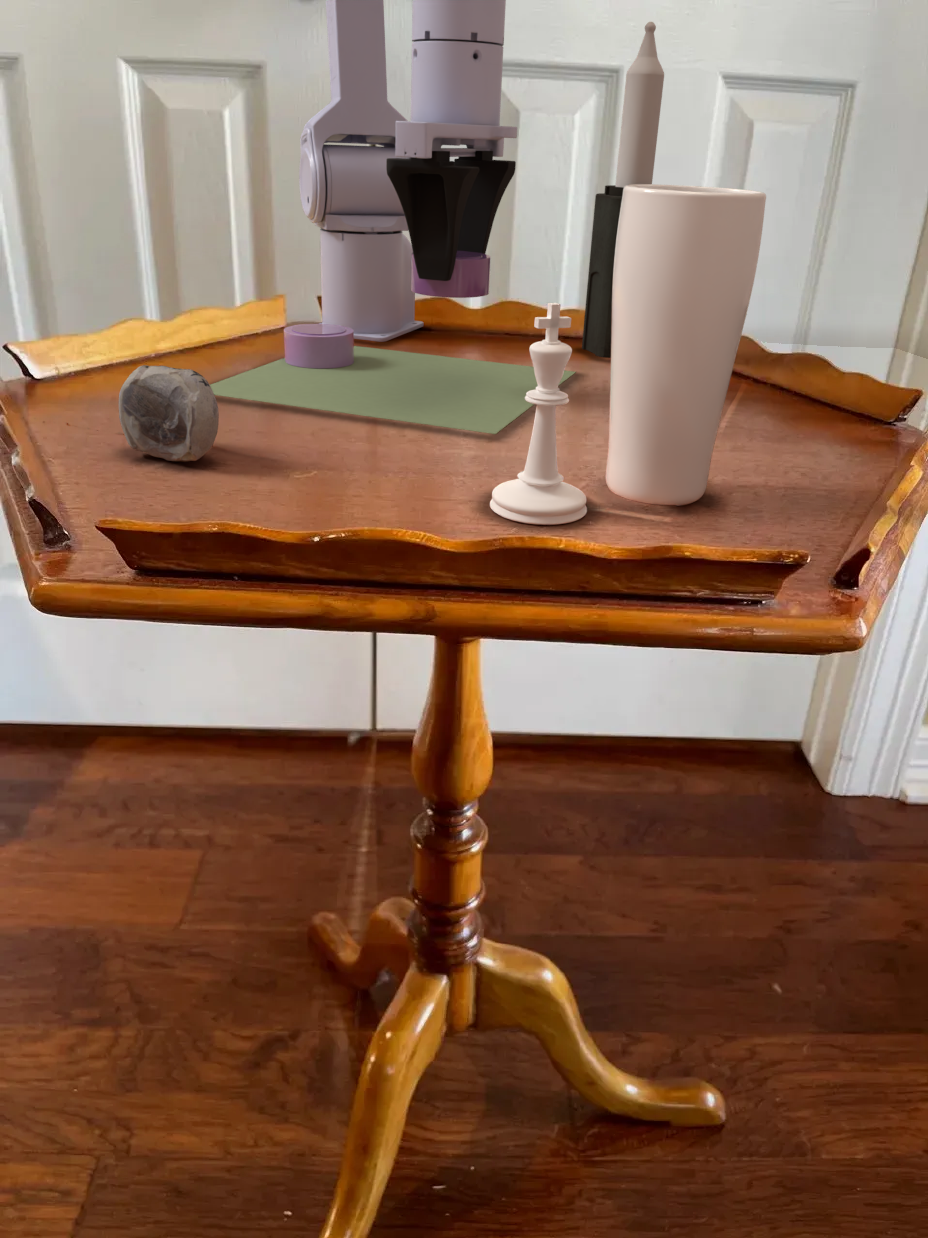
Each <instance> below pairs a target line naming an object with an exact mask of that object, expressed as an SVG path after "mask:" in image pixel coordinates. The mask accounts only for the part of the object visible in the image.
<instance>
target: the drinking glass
mask: <svg viewBox="0 0 928 1238" xmlns="http://www.w3.org/2000/svg"><path fill="white" fill-rule="evenodd" d="M766 201H767V194H766V193H765V192H763V191H759V190H750V189H743V188H741V189H740V188H731V187H729V188H728V187H715V186H702V185H701V186H700V185H684V184H683V185H681V184H654V183H652V184H632V185H626V186H625V187H624V189H623V196H622V202H621V208H620V215H619V222H618V229H617V237H616V246H615V257H614V269H613V287H612V326H611V358H610V377H609V379H610V381H609V382H610V385H609V413H608V419H609V420H608V444H607V445H608V446H607V455H606V456H607V457H606V467H605V477H604V478H605V483H606V486H607V488H608V489H609V491H611V493H612V494H614V495H616V496H618V497H621V498H623V499H625V500H630V501H633V502H637V503H641V504H642V503H643V504H648V505H656V506H658V505H659V506H676V507H680V506H686V505H689V504H692V503H695V502H697V501H699V500H700V499H701V498H702V497H703V496H704V494H705V492H706V491H707V487H708V482H709V477H710V469H711V464H712V463H711V462H712V457H713V452H714V448H715V444H716V441H717V437H718V436H717V435H718V432H719V427H720V423H721V419H722V415H723V410H724V406H725V403H726V399H727V395H728V392H729V391H728V390H729V386H730V383H731V379H732V376H733V369H734V366H735V362H736V358H737V354H738V350H739V346H740V342H741V340H742V339H741V338H742V335H743V331H744V326H745V323H746V318H747V315H748V314H747V313H748V311H749V310H748V309H749V305H750V302H751V297H752V292H753V289H754V284H755V278H756V274H757V268H758V262H759V256H760V249H761V244H762V243H761V242H762V235H763V227H764V219H765V211H766V203H767V202H766Z"/></svg>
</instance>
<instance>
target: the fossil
mask: <svg viewBox="0 0 928 1238" xmlns="http://www.w3.org/2000/svg"><path fill="white" fill-rule="evenodd" d="M119 390H120V391H119V394H118V418H119V423H120V426H121V429H122V432H123V434H124V437H125V439H126V442H127V445H129V447H130V448H131V449H132V450H135V451H139V452H143V453H145V454H148V455H149V456H152V457H154V458H160V459H163V460H165V461H171V462H190V461H193V462H195V461H198V460H199V459H201V458H202V457H203V456H204V455H206V453H207V452H208V451H209V450H210V449H211V448H212V446H213V445H214V443H215V441H216V437H217V435H218V433H219V431H218V430H219V421H220V420H219V419H220V418H219V417H220V411H219V405H218V402H217V399H216V395H214V393H213V391H212V389H211V387H210V383H209V381H208V380H207V379H206V378H205V377H204V376H203V375H202V374H200V373H199V372H197V371H195V370H193V369H190V368H188V369H187V368H177V367H176V368H175V367H171V366H167V365H148V364H147V365H145V364H143V365H140V366H138V367H137V368H135V369H134V370H133V371H131V373H130V374H129V376H128V377H127V378H126V380H125V381H124V382H123V384H122V385H121V388H120V389H119Z"/></svg>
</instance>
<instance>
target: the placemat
mask: <svg viewBox="0 0 928 1238" xmlns="http://www.w3.org/2000/svg"><path fill="white" fill-rule="evenodd" d="M576 373H577V371H575V370H564V373H563V376H562V379H561V381H560V383H559V385H558V387H559V386H561V385H562V384H563V383H564V382H566V381H567V380H569V378H571V377H572V376H574V375H576ZM209 385H210V387H211V389H212V391H213V393H214V396H218V397H224V398H231V399H239V400H247V401H253V402H260V403H266V404H267V403H268V404H275V405H282V406H289V407H297V408H302V409H303V408H304V409H310V410H311V409H312V410H317V411H325V412H331V413H340V414H346V415H354V416H360V417H361V416H362V417H368V418H375V419H380V420H381V419H382V420H390V421H396V422H397V421H398V422H403V423H410V424H418V425H425V426H431V427H440V428H447V429H452V430H453V429H454V430H462V431H469V432H475V433H482V434H490V435H497V434H498V433H499V432H501V431H502V430H504V429H505V428H506V427H507V426H509V425H510V424H511V423H512V422H514V421H515V420H516V419H517V418H519V417H520V416H522V415H523V414H525V413H526V412H527V411H528V410H530V409H531V408H532V407H533V406H535V404H532V403H529V402H527V401H526V400H525V396H526V393H527V392H528V391H530V390H535V389H536V387H537V386H538V384H537V381H536V377H535V373H534V367H533V366H530V365H523V364H522V365H521V364H512V363H505V362H496V361H487V360H480V359H478V360H477V359H470V358H463V357H453V356H446V355H437V354H430V353H429V354H427V353H421V352H420V353H419V352H411V351H403V350H394V349H385V348H376V347H369V346H368V347H367V346H359V345H354V363H353V364H351V365H349V366H345V367H340V368H328V369H315V368H303V367H297V366H293V365H290V364H287V363H286V362H285V357H283V358H280V359H277V360H274V361H271V362H269V363H266V364H263V365H260V366H258V367H255V368H252V369H249V370H246V371H243V372H241V373H238V374H236V375H233V376H230V377H227V378H225V379H222V380H219V381H216V382H214V383H209Z"/></svg>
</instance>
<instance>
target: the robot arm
mask: <svg viewBox="0 0 928 1238" xmlns="http://www.w3.org/2000/svg"><path fill="white" fill-rule="evenodd" d="M411 2H412V3H411V7H412V9H411V10H412V13H411V64H410V65H411V71H410V72H411V73H410V74H411V76H410V77H411V78H410V121H409V120H408V119H407V118H406V117H404V116H403V114H402V113H400V112H399V111H398V110H397V109H396V108H395V107H394V106H393V105H392V104H391V103H390V102H389V100H388V78H387V55H386V53H387V52H386V29H385V28H386V27H385V6H384V4H385V2H384V0H325V16H326V29H327V30H326V33H327V51H328V66H329V67H328V69H329V85H330V86H329V87H330V88H329V89H330V101H329V103H327V104H326V105H325V106H324V107H323V108H321V109H320V110H319V111H318V112H317V113H315V114H314V115H313V116H311V118H310V119H308V121H306V123H305V125H304V126H303V129H302V132H301V134H300V138H299V140H300V141H299V142H300V157H299V158H300V159H299V166H298V167H299V168H298V184H299V185H298V186H299V196H300V203H301V207H302V211H303V213H304V215H305V216H306V217H307V218H308V220H309V221H310V223H312V224H314V226H315V227H317V228H319V243H320V244H319V245H320V246H319V247H320V248H319V249H320V284H321V286H320V287H321V288H320V290H321V322H319V323H318V324H331V325H340V326H345V327H348V328H351V329H353V330H354V340H362V341H370V342H371V341H372V342H379V343H381V342H383V343H384V342H385V343H386V342H388V341H390V340H393V339H395V338H397V337H401V336H403V335H405V334H407V333H410V332H413V331H415V330H418V329H420V328H423V327H424V326H425V325H424V322H423V321H421V320H416V319H415V314H416V293H414V292H412V291H411V254H412V253H413V255H414V260H415V265H416V269H417V273H418V277H419V279H428V280H439V281H449V280H451V277H452V273H453V270H454V266H455V261H456V254H457V251H467V252H476V253H482V254H487V249H488V245H489V242H490V241H489V240H490V236H491V232H492V228H493V225H494V221H495V217H496V215H497V212H498V209H499V206H500V203H501V202H502V199H503V196H504V194H505V191H506V190H507V188H508V187H509V184H510V182H511V181H512V179H513V177H514V175H515V173H516V163H517V162H516V161H515V160H507V159H506V160H505V159H494V158H503V156H504V150H505V149H504V148H505V139H517V137H518V127H517V126H509V125H500V124H501V106H502V83H503V66H504V65H503V63H504V45H505V44H504V43H505V24H506V6H507V0H412V1H411ZM349 144H351V145H349ZM352 144H353V145H352ZM355 144H356V145H355ZM357 144H358V145H357ZM442 146H454V147H442ZM455 146H458V147H455ZM460 146H466V147H460ZM451 158H454V160H451ZM403 232H408V233H409V234H408V235H409V238H408V237H407V236H406V234H404V233H403ZM409 239H410V240H409Z"/></svg>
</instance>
